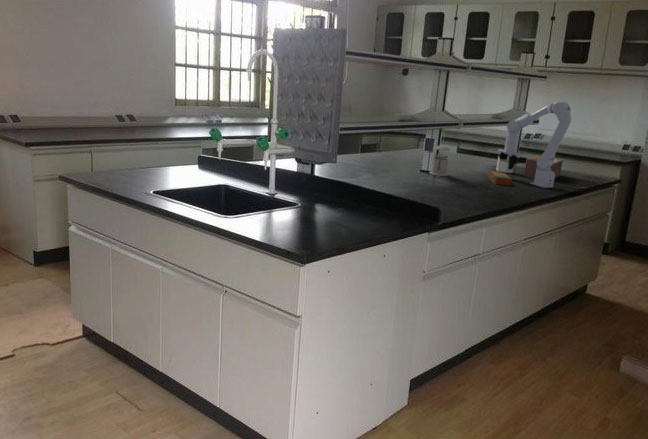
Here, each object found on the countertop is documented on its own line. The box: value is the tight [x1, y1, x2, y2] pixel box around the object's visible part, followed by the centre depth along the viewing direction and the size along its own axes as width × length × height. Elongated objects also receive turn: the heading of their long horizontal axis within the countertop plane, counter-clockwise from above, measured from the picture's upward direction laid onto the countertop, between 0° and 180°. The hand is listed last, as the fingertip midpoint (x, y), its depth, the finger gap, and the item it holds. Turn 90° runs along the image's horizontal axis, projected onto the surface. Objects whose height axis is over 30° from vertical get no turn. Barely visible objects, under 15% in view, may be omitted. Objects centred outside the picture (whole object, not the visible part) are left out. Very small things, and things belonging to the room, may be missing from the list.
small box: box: [495, 153, 512, 174], centre depth 336 cm, size 8×6×10 cm
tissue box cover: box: [523, 155, 564, 179], centre depth 335 cm, size 26×14×10 cm, turn 147°
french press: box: [428, 132, 451, 177], centre depth 304 cm, size 10×12×25 cm
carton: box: [488, 171, 513, 187], centre depth 303 cm, size 8×16×4 cm, turn 177°
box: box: [499, 159, 515, 173], centre depth 314 cm, size 5×5×6 cm
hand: (506, 168), depth 315 cm, fingers closed on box, 5 cm apart
